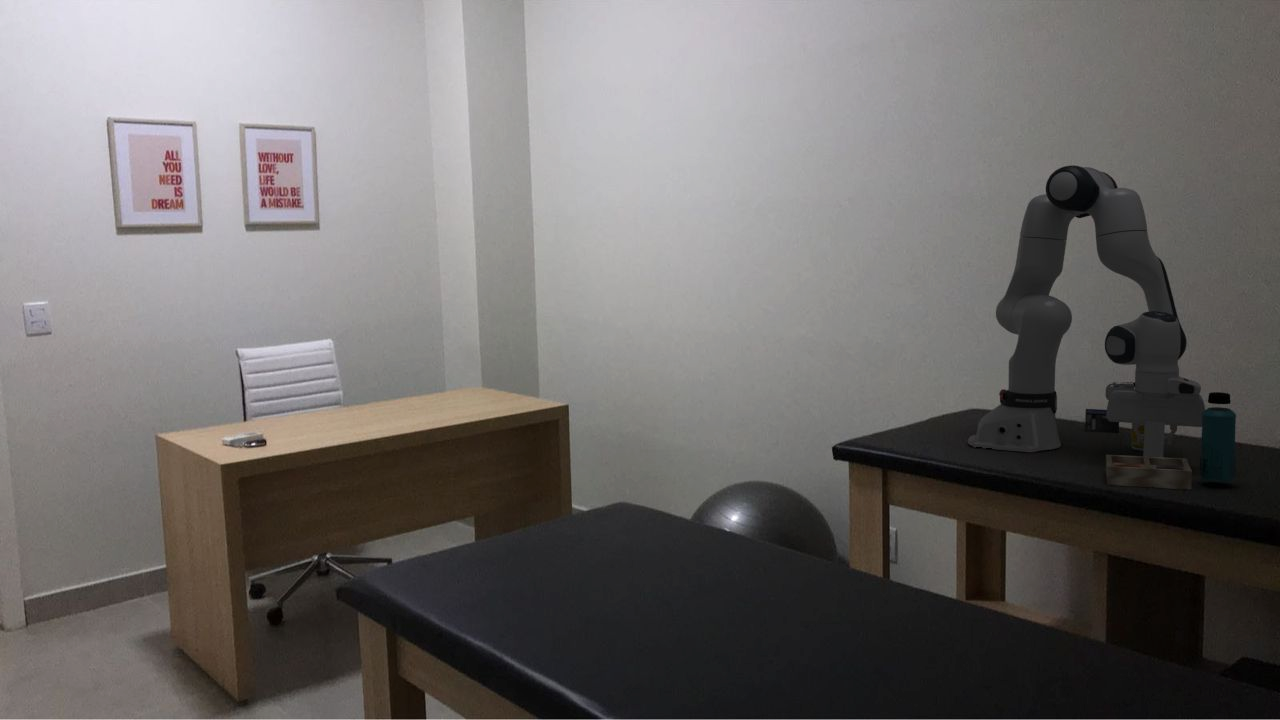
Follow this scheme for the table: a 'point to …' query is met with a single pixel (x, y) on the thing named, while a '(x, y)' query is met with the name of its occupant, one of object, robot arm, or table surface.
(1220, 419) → the beverage bottle
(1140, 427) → the supplement bottle
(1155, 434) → the plug
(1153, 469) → the socket block
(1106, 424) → the mini dv tape
